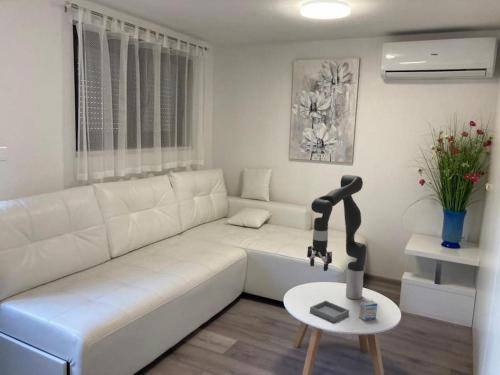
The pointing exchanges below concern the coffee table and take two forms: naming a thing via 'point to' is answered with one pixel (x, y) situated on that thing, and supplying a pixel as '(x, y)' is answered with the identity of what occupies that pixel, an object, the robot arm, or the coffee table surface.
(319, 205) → the robot arm
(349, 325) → the coffee table surface
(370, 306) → the medicine box
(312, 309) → the tray
